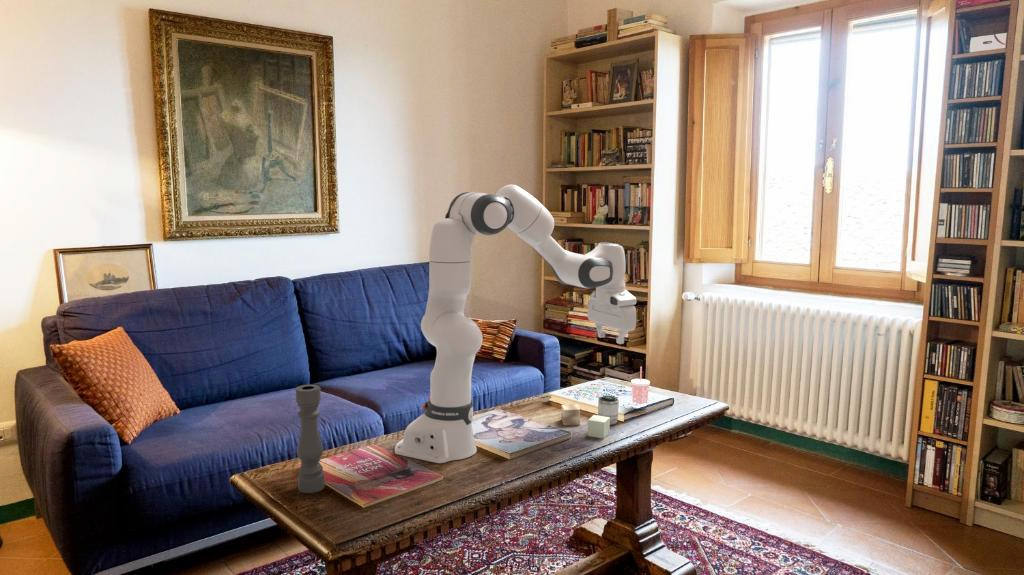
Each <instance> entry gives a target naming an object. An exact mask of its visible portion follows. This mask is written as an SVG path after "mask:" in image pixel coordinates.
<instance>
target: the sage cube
mask: <svg viewBox="0 0 1024 575" xmlns="http://www.w3.org/2000/svg"><path fill="white" fill-rule="evenodd" d="M610 426H611V425H610V417H604V416H598V414H593V415H592V416H591V417H590V418H589V419H588V420H587V437H591V438H598V439H605V438H607V436H609V435H610V429H611V428H610Z"/></svg>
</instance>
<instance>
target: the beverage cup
mask: <svg viewBox="0 0 1024 575" xmlns="http://www.w3.org/2000/svg"><path fill="white" fill-rule="evenodd" d="M642 370H643V367H642V366H640V370H639V378H633V379H631V381H630V383H631V395H632V396H631V399H632V400H631V403H632V402H634V403H639V404H644V403H647V404H648V399H649V398H648V397H649V390H650V389H649V388H650V384H651V381H650V380H648V379H645V378H642V373H643V371H642Z"/></svg>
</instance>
